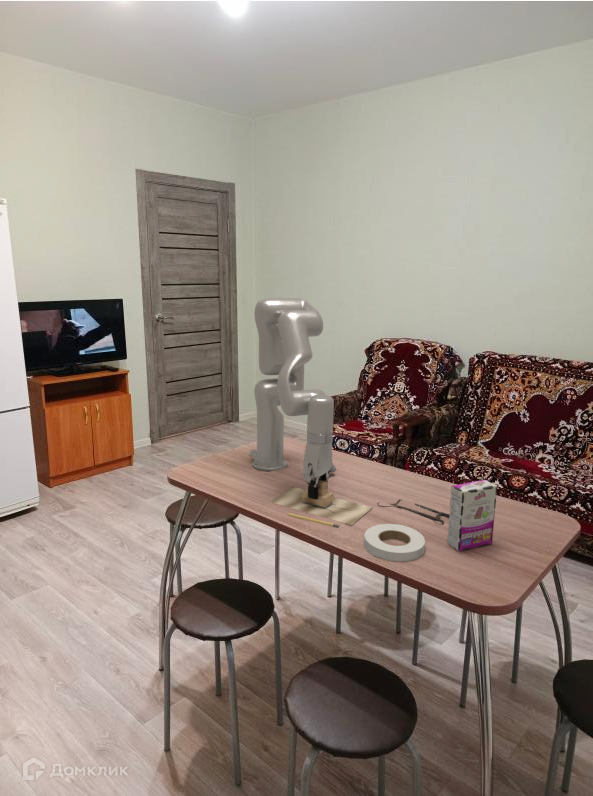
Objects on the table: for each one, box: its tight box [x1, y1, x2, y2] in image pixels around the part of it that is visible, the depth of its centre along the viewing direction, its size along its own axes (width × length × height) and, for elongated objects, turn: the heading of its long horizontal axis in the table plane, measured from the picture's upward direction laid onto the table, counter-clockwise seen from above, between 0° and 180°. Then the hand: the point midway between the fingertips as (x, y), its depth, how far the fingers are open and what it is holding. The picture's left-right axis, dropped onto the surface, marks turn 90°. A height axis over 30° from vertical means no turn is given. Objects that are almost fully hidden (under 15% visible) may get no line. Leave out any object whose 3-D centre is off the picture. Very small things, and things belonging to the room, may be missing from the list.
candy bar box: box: [447, 479, 498, 552], centre depth 140 cm, size 11×5×16 cm, turn 114°
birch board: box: [268, 486, 374, 527], centre depth 164 cm, size 28×14×1 cm, turn 58°
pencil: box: [287, 512, 340, 529], centre depth 153 cm, size 16×1×1 cm, turn 63°
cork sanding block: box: [302, 478, 334, 508], centre depth 164 cm, size 8×5×6 cm, turn 59°
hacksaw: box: [376, 499, 450, 525], centre depth 160 cm, size 24×10×2 cm, turn 43°
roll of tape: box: [363, 523, 426, 563], centre depth 140 cm, size 16×15×3 cm
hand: (317, 494), depth 164 cm, fingers closed on cork sanding block, 5 cm apart
